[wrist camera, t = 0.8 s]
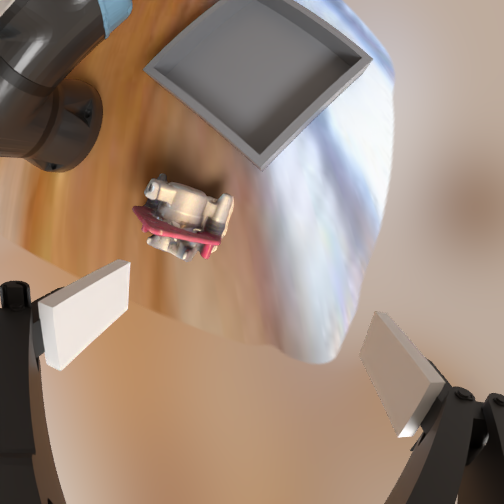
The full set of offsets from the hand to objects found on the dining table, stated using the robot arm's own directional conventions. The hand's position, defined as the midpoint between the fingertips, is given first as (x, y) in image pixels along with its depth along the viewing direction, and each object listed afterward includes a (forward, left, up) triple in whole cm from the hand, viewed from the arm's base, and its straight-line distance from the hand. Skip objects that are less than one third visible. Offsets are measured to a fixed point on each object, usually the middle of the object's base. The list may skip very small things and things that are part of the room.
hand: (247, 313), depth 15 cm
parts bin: (-16, +16, -23) cm, 33 cm away
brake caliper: (-9, -4, -24) cm, 26 cm away
